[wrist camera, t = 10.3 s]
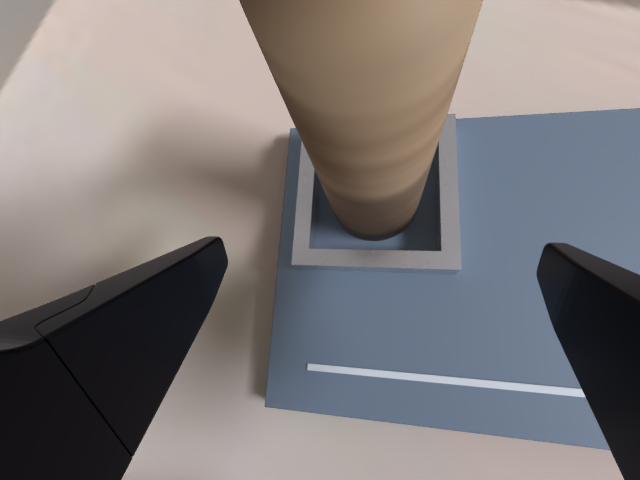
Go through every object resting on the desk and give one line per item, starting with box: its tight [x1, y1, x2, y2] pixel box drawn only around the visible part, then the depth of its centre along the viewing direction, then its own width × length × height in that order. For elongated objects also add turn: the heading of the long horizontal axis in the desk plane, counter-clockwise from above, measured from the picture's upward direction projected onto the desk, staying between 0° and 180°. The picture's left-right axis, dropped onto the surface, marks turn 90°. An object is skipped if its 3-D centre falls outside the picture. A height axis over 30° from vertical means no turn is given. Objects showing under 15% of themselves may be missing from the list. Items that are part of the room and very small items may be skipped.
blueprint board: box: [265, 108, 640, 450], centre depth 15 cm, size 15×22×1 cm
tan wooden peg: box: [239, 0, 483, 241], centre depth 11 cm, size 4×4×12 cm
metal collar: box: [291, 114, 462, 275], centre depth 16 cm, size 8×8×2 cm
